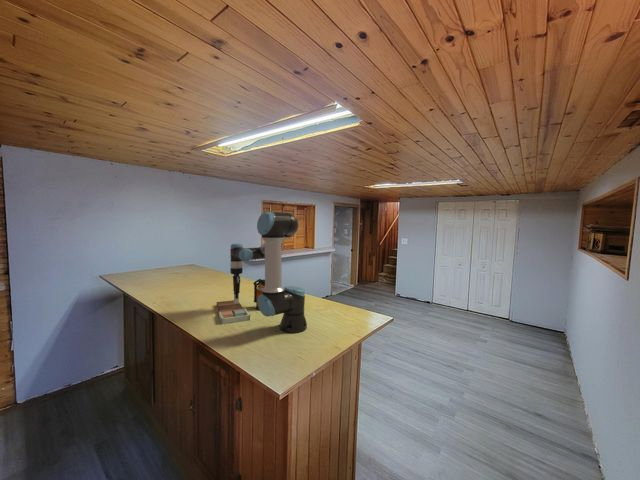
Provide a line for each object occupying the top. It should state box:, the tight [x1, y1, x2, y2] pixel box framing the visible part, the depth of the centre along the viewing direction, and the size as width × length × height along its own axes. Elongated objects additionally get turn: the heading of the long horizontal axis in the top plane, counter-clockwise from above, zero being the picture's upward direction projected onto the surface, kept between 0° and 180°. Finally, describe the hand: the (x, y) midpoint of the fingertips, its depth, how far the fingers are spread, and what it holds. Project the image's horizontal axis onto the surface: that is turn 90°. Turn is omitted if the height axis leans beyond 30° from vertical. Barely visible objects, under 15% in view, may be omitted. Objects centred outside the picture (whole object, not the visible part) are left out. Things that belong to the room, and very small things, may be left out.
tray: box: [218, 308, 251, 325], centre depth 162 cm, size 13×16×3 cm
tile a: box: [221, 311, 233, 318], centre depth 163 cm, size 6×6×2 cm
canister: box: [253, 278, 265, 310], centre depth 182 cm, size 9×11×20 cm
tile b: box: [234, 310, 245, 317], centre depth 166 cm, size 6×6×2 cm
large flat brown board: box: [216, 299, 245, 314], centre depth 178 cm, size 22×14×2 cm, turn 27°
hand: (236, 302), depth 176 cm, fingers closed
